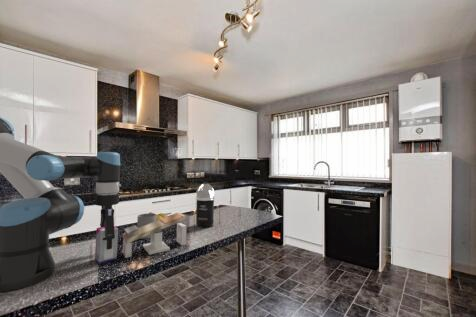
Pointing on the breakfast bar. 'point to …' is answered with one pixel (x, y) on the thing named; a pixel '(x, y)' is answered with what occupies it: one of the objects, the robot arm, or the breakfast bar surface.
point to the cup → (145, 221)
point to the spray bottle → (205, 205)
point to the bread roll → (160, 216)
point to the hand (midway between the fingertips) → (106, 251)
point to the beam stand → (157, 242)
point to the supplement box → (100, 245)
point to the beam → (151, 227)
